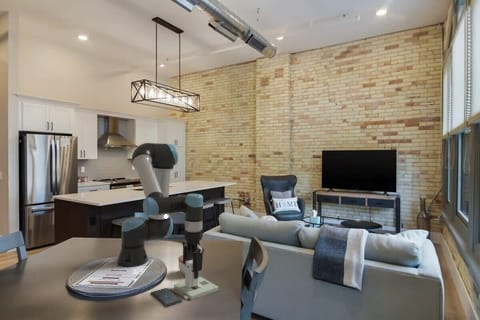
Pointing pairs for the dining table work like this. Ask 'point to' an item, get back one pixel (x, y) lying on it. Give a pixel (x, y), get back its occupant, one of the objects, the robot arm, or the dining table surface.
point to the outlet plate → (197, 288)
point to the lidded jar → (181, 264)
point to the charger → (188, 273)
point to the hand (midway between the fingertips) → (191, 283)
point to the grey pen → (177, 293)
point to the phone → (166, 297)
